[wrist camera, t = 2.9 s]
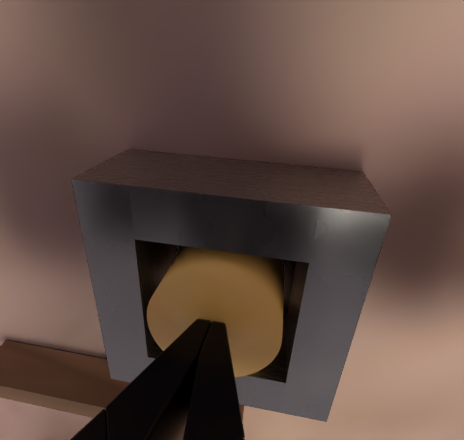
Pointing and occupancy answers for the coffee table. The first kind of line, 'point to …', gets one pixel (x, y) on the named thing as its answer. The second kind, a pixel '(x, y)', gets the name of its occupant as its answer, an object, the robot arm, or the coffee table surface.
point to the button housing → (236, 241)
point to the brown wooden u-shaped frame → (57, 379)
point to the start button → (223, 303)
